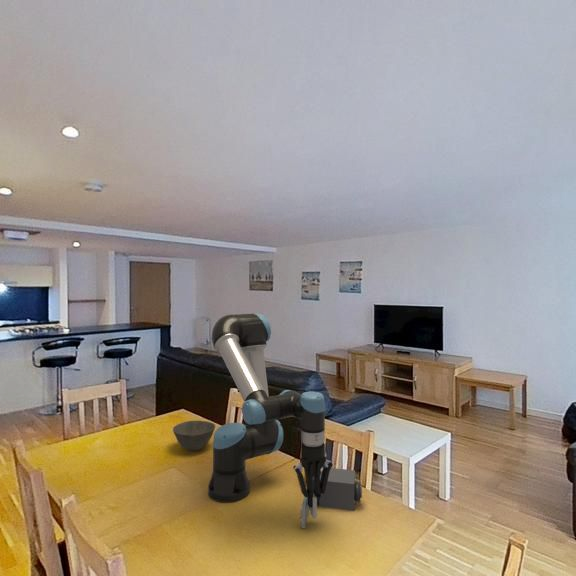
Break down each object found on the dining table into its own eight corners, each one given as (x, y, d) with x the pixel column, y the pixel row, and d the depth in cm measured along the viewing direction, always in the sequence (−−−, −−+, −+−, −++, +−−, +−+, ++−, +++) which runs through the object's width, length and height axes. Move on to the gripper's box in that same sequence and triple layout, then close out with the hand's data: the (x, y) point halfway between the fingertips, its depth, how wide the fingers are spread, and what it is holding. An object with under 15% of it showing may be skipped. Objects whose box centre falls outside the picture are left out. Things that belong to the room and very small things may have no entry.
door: (305, 505, 136) (305, 484, 136) (310, 505, 136) (310, 484, 136) (299, 528, 123) (299, 504, 123) (305, 528, 123) (305, 505, 123)
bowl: (223, 446, 185) (223, 424, 185) (193, 461, 169) (193, 438, 169) (194, 437, 195) (194, 417, 195) (163, 451, 179) (164, 428, 179)
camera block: (306, 505, 136) (307, 476, 136) (310, 490, 146) (311, 463, 146) (361, 511, 133) (362, 481, 133) (361, 496, 143) (362, 468, 143)
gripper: (298, 450, 120) (299, 527, 121) (336, 444, 124) (336, 518, 125) (290, 440, 127) (290, 513, 128) (326, 435, 131) (326, 505, 132)
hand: (313, 516), depth 126 cm, fingers closed
